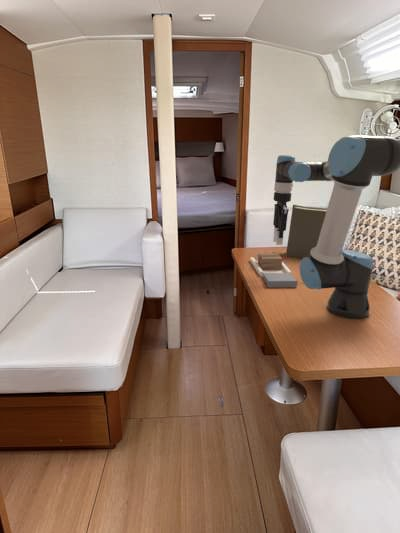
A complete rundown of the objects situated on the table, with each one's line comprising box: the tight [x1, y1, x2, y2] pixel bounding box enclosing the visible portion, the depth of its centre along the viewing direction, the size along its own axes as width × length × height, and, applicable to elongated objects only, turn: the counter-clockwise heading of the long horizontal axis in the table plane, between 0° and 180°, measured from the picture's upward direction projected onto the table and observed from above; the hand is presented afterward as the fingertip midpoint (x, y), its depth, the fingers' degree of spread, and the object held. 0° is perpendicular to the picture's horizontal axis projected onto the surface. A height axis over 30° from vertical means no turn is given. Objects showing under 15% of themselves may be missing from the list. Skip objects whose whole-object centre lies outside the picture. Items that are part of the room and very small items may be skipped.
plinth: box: [262, 273, 298, 288], centre depth 166 cm, size 10×13×3 cm
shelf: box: [249, 256, 293, 277], centre depth 182 cm, size 22×15×3 cm
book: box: [286, 204, 328, 259], centre depth 200 cm, size 22×9×28 cm, turn 79°
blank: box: [257, 253, 283, 270], centre depth 182 cm, size 8×10×6 cm
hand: (277, 242), depth 169 cm, fingers open, 4 cm apart
